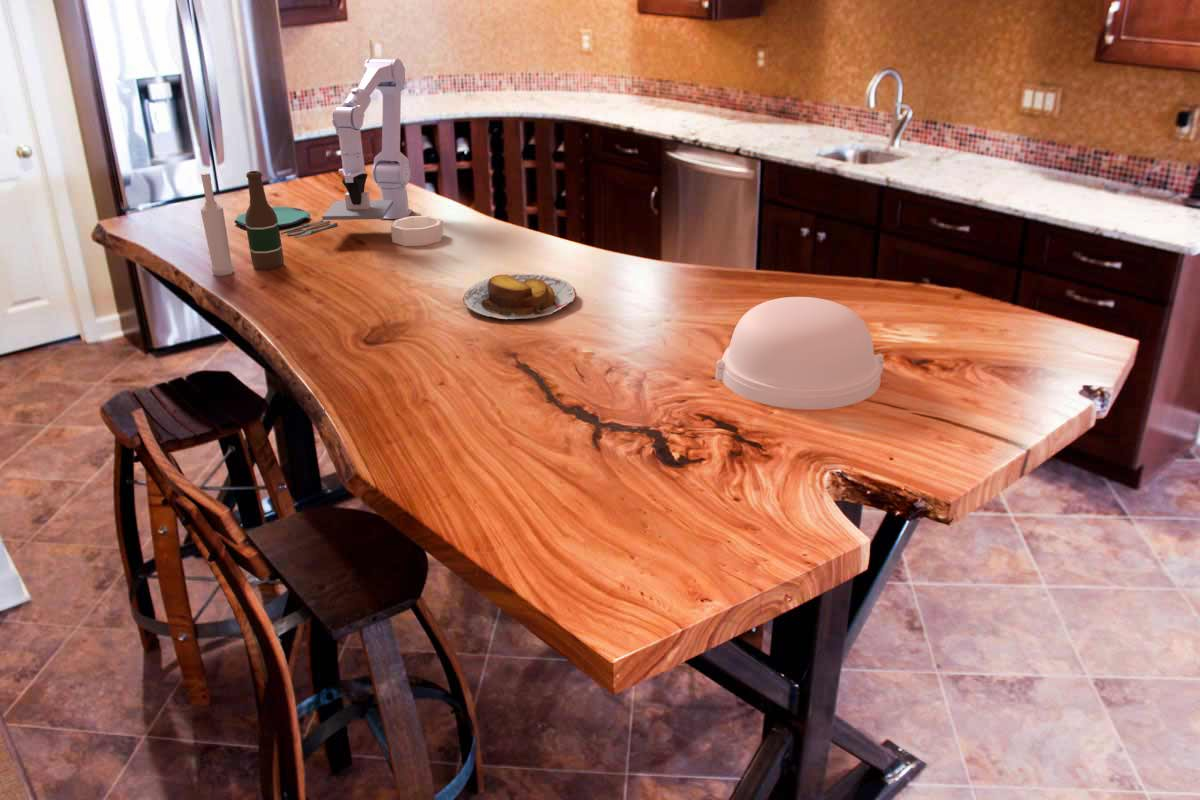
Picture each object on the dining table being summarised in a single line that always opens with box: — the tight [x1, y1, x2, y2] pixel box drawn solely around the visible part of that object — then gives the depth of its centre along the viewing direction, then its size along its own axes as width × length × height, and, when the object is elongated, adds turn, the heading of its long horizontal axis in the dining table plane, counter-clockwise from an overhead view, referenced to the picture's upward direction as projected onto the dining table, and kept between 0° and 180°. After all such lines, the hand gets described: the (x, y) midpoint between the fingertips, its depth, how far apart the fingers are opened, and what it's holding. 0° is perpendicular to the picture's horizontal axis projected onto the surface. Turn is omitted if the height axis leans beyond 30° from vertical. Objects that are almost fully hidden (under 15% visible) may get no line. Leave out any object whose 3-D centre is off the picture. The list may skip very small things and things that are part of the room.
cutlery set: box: [234, 206, 338, 239], centre depth 304 cm, size 20×30×2 cm, turn 51°
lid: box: [321, 191, 393, 221], centre depth 287 cm, size 16×16×5 cm
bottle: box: [200, 172, 234, 277], centre depth 259 cm, size 5×5×25 cm
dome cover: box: [715, 296, 884, 411], centre depth 197 cm, size 32×30×14 cm
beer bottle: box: [245, 170, 285, 271], centre depth 264 cm, size 8×8×24 cm
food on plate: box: [462, 273, 577, 320], centre depth 238 cm, size 25×25×7 cm
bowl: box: [390, 215, 444, 247], centre depth 287 cm, size 13×13×4 cm
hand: (358, 202), depth 287 cm, fingers closed on lid, 2 cm apart
